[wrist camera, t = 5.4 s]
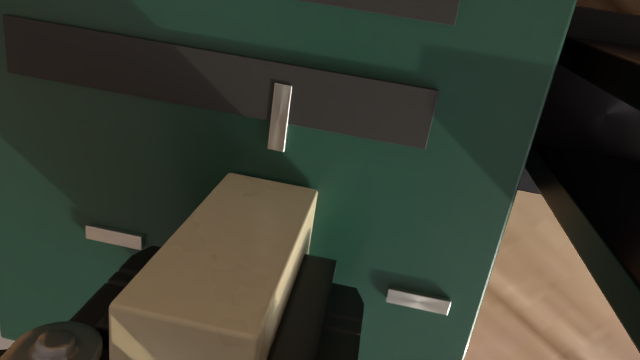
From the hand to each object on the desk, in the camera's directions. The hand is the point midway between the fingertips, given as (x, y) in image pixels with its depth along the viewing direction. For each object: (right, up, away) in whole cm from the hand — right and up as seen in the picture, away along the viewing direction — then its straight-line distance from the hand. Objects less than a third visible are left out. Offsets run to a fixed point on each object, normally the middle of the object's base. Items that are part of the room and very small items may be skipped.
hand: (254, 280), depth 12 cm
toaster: (+1, +6, +10) cm, 12 cm away
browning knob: (0, 0, 0) cm, 1 cm away
